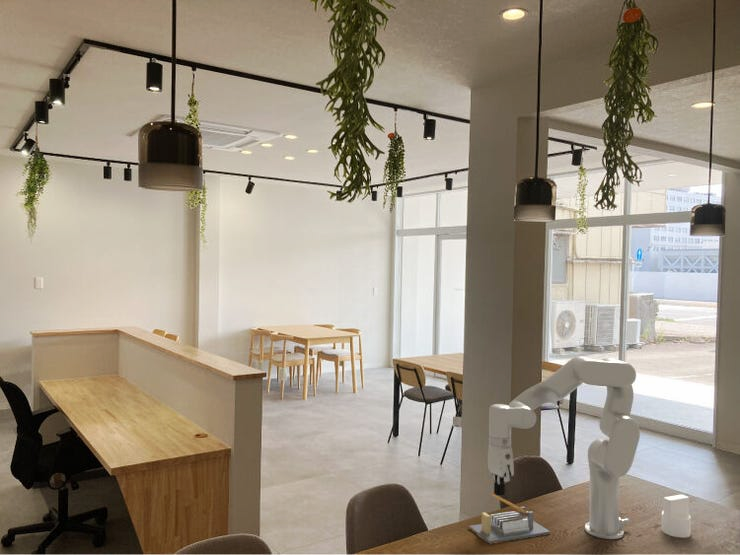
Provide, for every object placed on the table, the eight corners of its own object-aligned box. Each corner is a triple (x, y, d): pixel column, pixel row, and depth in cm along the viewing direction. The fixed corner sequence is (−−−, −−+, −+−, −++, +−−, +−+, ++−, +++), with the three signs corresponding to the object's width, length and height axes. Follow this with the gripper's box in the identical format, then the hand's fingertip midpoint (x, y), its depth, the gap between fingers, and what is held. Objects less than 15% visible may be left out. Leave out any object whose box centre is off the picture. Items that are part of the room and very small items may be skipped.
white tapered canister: (674, 525, 212) (675, 491, 212) (696, 535, 204) (697, 500, 204) (655, 528, 209) (655, 494, 209) (677, 539, 201) (677, 503, 201)
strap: (524, 513, 209) (526, 510, 210) (529, 516, 207) (531, 513, 207) (491, 495, 205) (492, 492, 205) (496, 499, 202) (497, 495, 202)
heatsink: (514, 521, 211) (514, 510, 211) (529, 531, 203) (529, 520, 203) (489, 525, 208) (489, 513, 208) (504, 535, 199) (504, 523, 200)
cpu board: (527, 519, 216) (527, 500, 216) (550, 534, 203) (550, 513, 203) (469, 528, 207) (469, 508, 207) (489, 544, 195) (489, 523, 195)
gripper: (521, 446, 198) (521, 501, 198) (497, 434, 212) (496, 486, 212) (502, 447, 196) (501, 503, 196) (479, 436, 210) (478, 488, 210)
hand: (499, 494), depth 204 cm, fingers closed
